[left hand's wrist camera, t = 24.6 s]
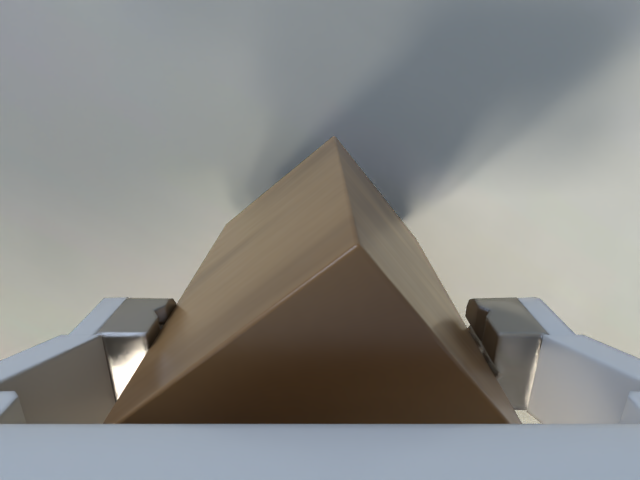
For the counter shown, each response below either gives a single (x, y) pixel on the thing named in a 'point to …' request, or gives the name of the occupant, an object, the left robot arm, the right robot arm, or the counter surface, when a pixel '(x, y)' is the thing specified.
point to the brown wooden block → (315, 320)
